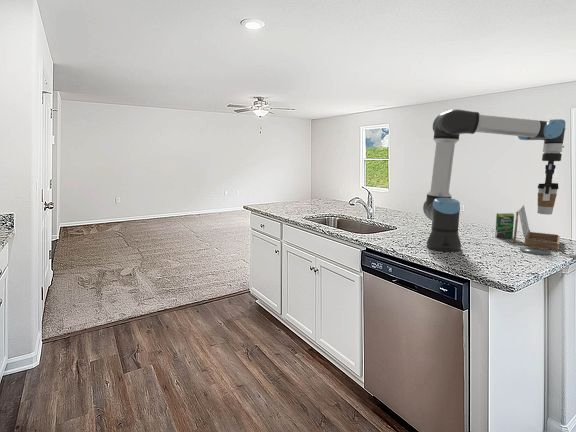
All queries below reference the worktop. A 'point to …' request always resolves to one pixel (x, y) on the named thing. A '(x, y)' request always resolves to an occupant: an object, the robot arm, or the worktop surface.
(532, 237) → the frame
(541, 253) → the disc
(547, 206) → the coffee cup
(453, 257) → the worktop surface
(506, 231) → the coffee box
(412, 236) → the worktop surface
